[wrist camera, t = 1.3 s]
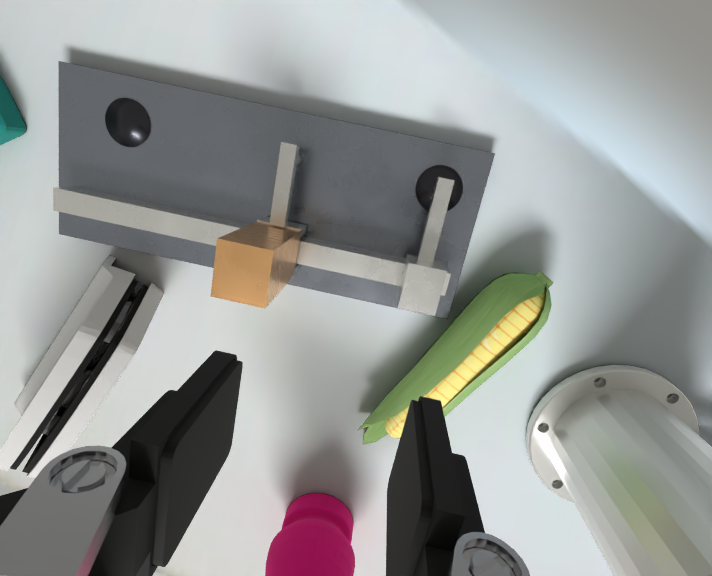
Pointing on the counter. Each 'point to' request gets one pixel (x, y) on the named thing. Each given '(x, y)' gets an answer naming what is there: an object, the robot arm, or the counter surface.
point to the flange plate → (260, 175)
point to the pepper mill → (313, 539)
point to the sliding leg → (262, 246)
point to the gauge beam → (413, 275)
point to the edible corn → (468, 349)
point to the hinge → (79, 368)
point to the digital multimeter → (9, 116)
